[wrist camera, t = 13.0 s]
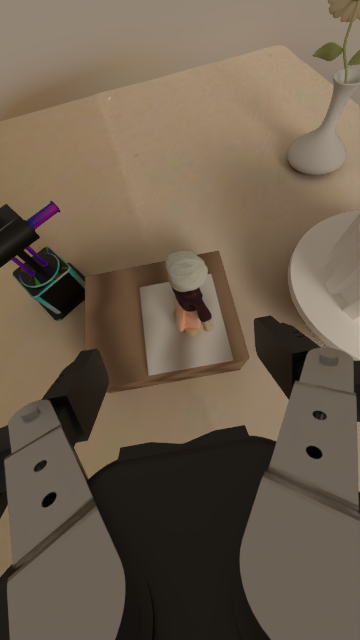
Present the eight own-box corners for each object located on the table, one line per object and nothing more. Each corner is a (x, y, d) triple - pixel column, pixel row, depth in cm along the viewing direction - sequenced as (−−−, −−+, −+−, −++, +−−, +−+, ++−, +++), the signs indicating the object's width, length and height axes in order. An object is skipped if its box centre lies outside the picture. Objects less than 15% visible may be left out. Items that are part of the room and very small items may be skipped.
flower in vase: (350, 156, 49) (480, -74, 26) (326, 188, 46) (448, -37, 23) (293, 138, 53) (361, -74, 30) (267, 167, 50) (322, -43, 27)
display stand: (109, 393, 35) (82, 386, 27) (106, 301, 41) (83, 274, 33) (239, 369, 34) (250, 356, 26) (216, 280, 40) (219, 247, 32)
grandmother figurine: (160, 312, 29) (131, 245, 18) (182, 294, 30) (168, 218, 18) (200, 355, 27) (198, 310, 15) (224, 334, 27) (239, 275, 16)
